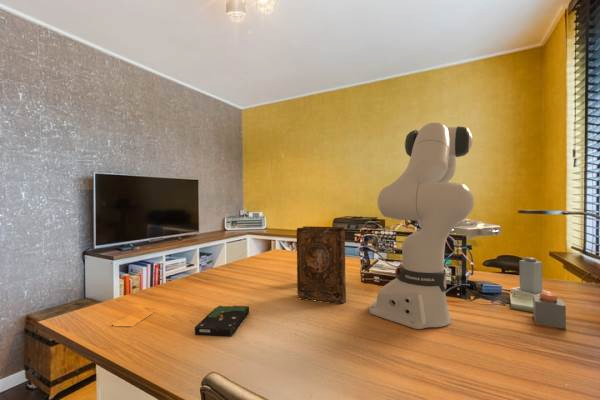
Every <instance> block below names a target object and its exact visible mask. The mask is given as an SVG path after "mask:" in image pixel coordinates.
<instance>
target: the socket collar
mask: <svg viewBox="0 0 600 400" xmlns="http://www.w3.org/2000/svg"><path fill="white" fill-rule="evenodd" d="M542 292H547V293H552V294H553V292H551V291H547V290H544V289H542ZM510 294H515V295H520V296H527V297H533V295H535V294H531V293H528V292H524V291H521V290H520V286H518V287H511V288H510ZM536 295H538V296H540V294H536Z"/></svg>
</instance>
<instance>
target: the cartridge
mask: <svg viewBox="0 0 600 400" xmlns="http://www.w3.org/2000/svg"><path fill="white" fill-rule="evenodd" d="M518 264H519V267H518V268H519V270H518V271H519V287H520V290H521V291H524V292H528V293H531V294H535V295H536V294H540V292H542V290H543V261H538V260H537V258H535V257H529V256H527V257H524V259H520V260H519V263H518Z"/></svg>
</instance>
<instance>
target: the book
mask: <svg viewBox="0 0 600 400" xmlns="http://www.w3.org/2000/svg"><path fill="white" fill-rule="evenodd" d="M296 265H297V266H296V272H297V273H296V279H297V280H296V281H297V282H296V283H297V286H296V287H297V291H296V292H297V297H298V299H299V298H301V299H300V300H303V299H308V300H307V301H309V300H316V301H315V302H317V301H322V302H321V303H325V302H329V303H328V304H332V303H336V304H335V305H340V304H341V305H344V304H346V302H347V290H346V289H347V287H346V286H347V283H346V277H347V276H346V229H345V227H344V226H309V225H305V226H302V227H297V228H296Z"/></svg>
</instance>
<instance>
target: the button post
mask: <svg viewBox="0 0 600 400" xmlns="http://www.w3.org/2000/svg"><path fill="white" fill-rule="evenodd" d="M566 309H567V307H566V304H565V303H564V301H563V300H562V298H558V297H557V301H554V302H547V301H543V299H541V298H540V296H538V295H533V312H532V313H533V315H532V316H533V319H534V322H535V324H537V325H544V326H548V327H553V328H558V329H564V330H567V313H566V312H567V310H566Z"/></svg>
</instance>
